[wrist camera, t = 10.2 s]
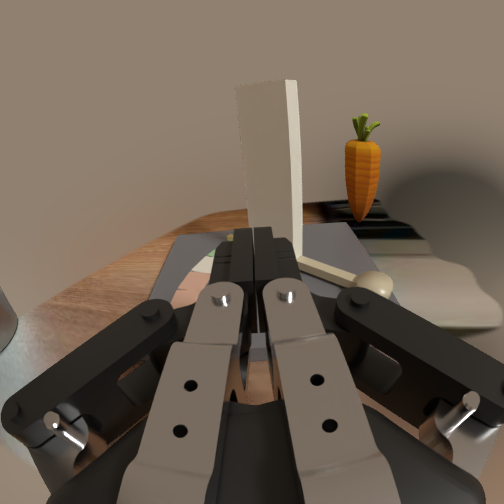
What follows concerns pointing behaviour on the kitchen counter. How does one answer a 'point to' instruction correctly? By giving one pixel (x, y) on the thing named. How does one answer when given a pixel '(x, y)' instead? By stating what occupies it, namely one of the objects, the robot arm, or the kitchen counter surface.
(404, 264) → the kitchen counter surface
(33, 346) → the kitchen counter surface
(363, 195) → the carrot
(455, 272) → the kitchen counter surface
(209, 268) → the gauge dial plate
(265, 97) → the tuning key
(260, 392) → the kitchen counter surface
